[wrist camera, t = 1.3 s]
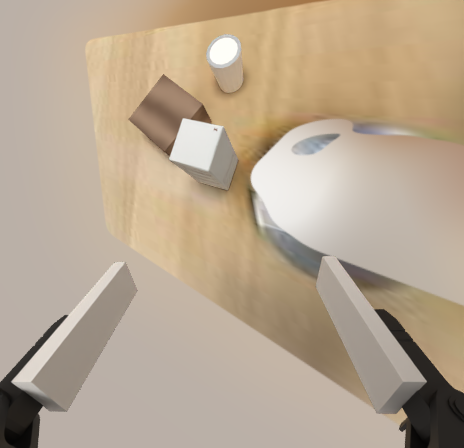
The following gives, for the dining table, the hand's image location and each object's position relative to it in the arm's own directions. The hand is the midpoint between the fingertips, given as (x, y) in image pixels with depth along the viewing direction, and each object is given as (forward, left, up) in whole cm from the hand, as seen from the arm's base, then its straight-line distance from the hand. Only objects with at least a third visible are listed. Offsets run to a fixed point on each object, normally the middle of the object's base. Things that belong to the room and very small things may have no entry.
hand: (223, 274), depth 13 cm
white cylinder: (-25, -29, -26) cm, 46 cm away
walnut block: (-10, -32, -26) cm, 43 cm away
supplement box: (-8, -17, -26) cm, 32 cm away
